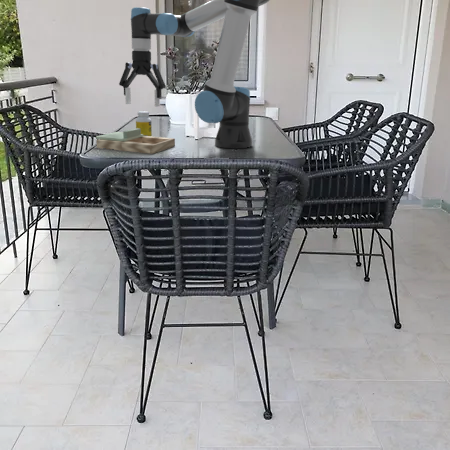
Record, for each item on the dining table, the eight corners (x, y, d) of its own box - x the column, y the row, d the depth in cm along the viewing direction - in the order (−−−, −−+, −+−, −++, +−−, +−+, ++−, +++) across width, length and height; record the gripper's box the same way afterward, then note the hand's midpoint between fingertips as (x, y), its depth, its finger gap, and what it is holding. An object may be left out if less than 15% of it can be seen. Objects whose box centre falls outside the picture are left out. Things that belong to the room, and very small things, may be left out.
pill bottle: (148, 141, 198) (147, 113, 194) (133, 140, 199) (132, 112, 195) (154, 139, 204) (153, 111, 200) (139, 138, 205) (138, 110, 201)
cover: (143, 136, 191) (143, 128, 189) (124, 141, 178) (124, 132, 177) (116, 133, 195) (116, 125, 194) (95, 138, 182) (95, 129, 181)
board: (174, 146, 189) (174, 138, 188) (152, 153, 173) (152, 145, 172) (122, 141, 197) (122, 133, 196) (96, 147, 181) (96, 139, 180)
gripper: (173, 51, 189) (173, 106, 196) (119, 49, 197) (121, 102, 204) (165, 51, 182) (165, 108, 189) (109, 49, 190) (111, 103, 197)
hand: (142, 105), depth 197 cm, fingers open, 13 cm apart
